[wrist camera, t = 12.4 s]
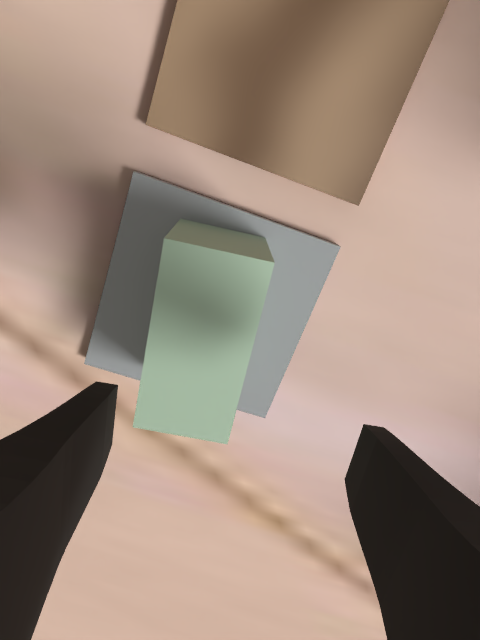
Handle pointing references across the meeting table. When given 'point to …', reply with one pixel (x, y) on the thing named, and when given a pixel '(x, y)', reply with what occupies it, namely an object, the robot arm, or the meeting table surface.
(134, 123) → the meeting table surface
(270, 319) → the grey mat
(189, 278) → the sage brick
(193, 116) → the walnut board
